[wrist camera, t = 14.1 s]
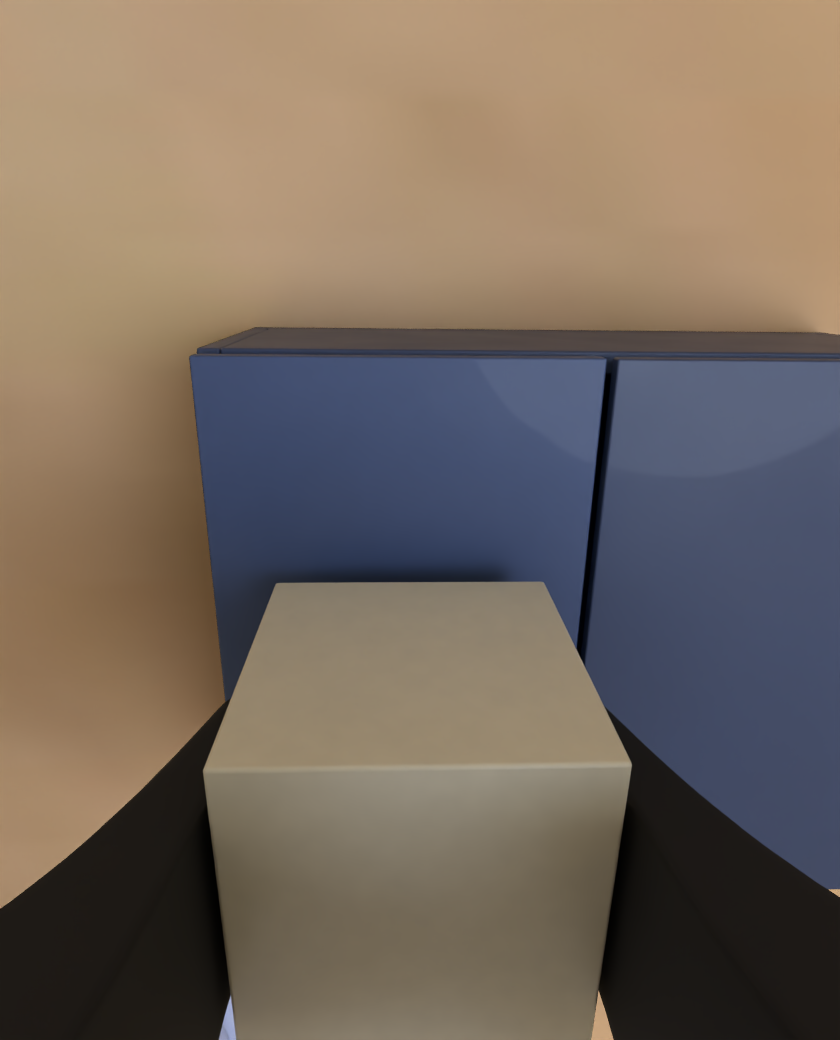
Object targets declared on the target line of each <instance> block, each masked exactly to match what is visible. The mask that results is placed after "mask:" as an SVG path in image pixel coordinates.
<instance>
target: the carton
mask: <svg viewBox="0 0 840 1040" xmlns="http://www.w3.org/2000/svg"><path fill="white" fill-rule="evenodd" d="M197 354H303V355H451V356H599V357H603V358H606V359H607V364H606V374H605V383H604V393H603V402H602V412H601V421H600V431H599V440H598V450H597V459H596V468H595V478H594V487H593V497H592V506H591V516H590V525H589V535H588V544H587V554H586V563H585V573H584V582H583V592H582V601H581V611H580V620H579V630H578V639H577V649H576V650H577V652H578V654H579V656H580V658H581V660H582V662H583V664H584V666H585V668H586V670H587V672H588V674H589V676H590V679H591V681H592V683H593V685H594V687H595V689H596V691H597V693H598V695H599V697H600V699H601V701H602V703H603V705H604V706H605V707H606V708H607V709H608V710H609V711H610V712H611V713H612V714H613V715H614V716H615V717H616V718H617V719H618V720H619V721H620V722H621V723H622V724H624V725H625V726H626V727H627V728H628V729H629V730H630V731H631V732H632V733H633V734H634V735H635V736H636V737H637V738H638V739H639V740H640V741H641V742H642V743H643V744H645V745H646V746H647V747H648V748H649V749H650V750H651V751H652V752H653V753H654V754H655V755H656V756H657V757H659V758H660V759H661V760H662V761H663V762H664V763H665V764H666V765H667V766H668V767H670V768H671V769H672V770H673V771H674V772H675V773H676V774H677V775H678V776H680V777H681V778H682V779H683V780H684V781H685V782H686V783H688V784H689V785H690V786H691V787H692V788H693V789H695V790H696V791H697V792H698V793H699V794H700V795H702V796H703V797H704V798H705V799H706V800H707V801H709V802H710V803H711V804H712V805H714V806H715V807H716V808H717V809H719V810H720V811H721V812H722V813H724V814H725V815H726V816H727V817H729V818H730V819H731V820H732V821H734V822H735V823H736V824H737V825H738V826H740V827H741V828H742V829H743V830H745V831H746V832H747V833H749V834H750V835H751V836H753V837H754V838H755V839H757V840H758V841H759V842H761V843H762V844H763V845H765V846H766V847H767V848H769V849H770V850H772V851H773V852H774V853H776V854H777V855H779V856H780V857H781V858H783V859H784V860H786V861H787V862H789V863H790V864H791V865H793V866H794V867H796V868H797V869H798V870H800V871H801V872H803V873H804V874H806V875H807V876H808V877H810V878H811V879H813V880H814V881H816V882H817V883H819V884H820V885H822V886H823V887H825V888H826V889H840V335H835V334H828V333H803V332H696V331H590V330H483V329H376V328H269V327H255V328H252V329H250V330H247V331H244V332H241V333H239V334H236V335H233V336H230V337H227V338H225V339H222V340H219V341H216V342H214V343H211V344H208V345H205V346H202V347H200V348H197Z"/></svg>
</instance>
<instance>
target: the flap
mask: <svg viewBox="0 0 840 1040" xmlns="http://www.w3.org/2000/svg"><path fill="white" fill-rule="evenodd" d="M189 360H190V369H191V379H192V388H193V398H194V407H195V417H196V426H197V436H198V445H199V455H200V464H201V474H202V483H203V493H204V502H205V512H206V522H207V531H208V541H209V550H210V560H211V569H212V579H213V588H214V598H215V607H216V617H217V626H218V636H219V645H220V655H221V664H222V674H223V683H224V693H225V702H226V701H227V700H228V699H231V697H232V695H233V692H234V690H235V687H236V685H237V682H238V679H239V677H240V674H241V672H242V669H243V667H244V664H245V662H246V659H247V656H248V654H249V651H250V649H251V646H252V644H253V641H254V638H255V636H256V633H257V631H258V628H259V626H260V623H261V620H262V618H263V615H264V613H265V610H266V608H267V605H268V602H269V600H270V597H271V595H272V592H273V590H274V587H275V585H276V583H349V582H544V584H545V586H546V588H547V590H548V592H549V594H550V596H551V598H552V600H553V602H554V604H555V606H556V608H557V611H558V613H559V615H560V617H561V619H562V621H563V623H564V625H565V627H566V629H567V631H568V633H569V635H570V637H571V639H572V641H573V643H574V646H575V648H576V649H577V639H578V630H579V620H580V611H581V601H582V592H583V582H584V573H585V563H586V554H587V544H588V535H589V525H590V516H591V506H592V497H593V487H594V478H595V468H596V459H597V450H598V440H599V431H600V421H601V412H602V402H603V393H604V383H605V374H606V364H607V359H606V358H603V357H599V356H451V355H303V354H193V355H191V356H190V357H189Z"/></svg>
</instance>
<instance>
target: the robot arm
mask: <svg viewBox="0 0 840 1040" xmlns="http://www.w3.org/2000/svg"><path fill="white" fill-rule="evenodd" d="M230 700H231V699H228V700H227V701H226V702H225V703H224V704H223V705H222V706H221V707H220V708H219V709H218V710H217V711H216V712H215V713H214V714H213V715H212V716H211V718H210V719H209V720H208V721H207V722H206V723H205V724H204V725H203V726H202V727H201V728H200V729H199V731H198V732H197V733H196V734H195V735H194V736H193V737H192V738H191V739H190V740H189V741H188V742H187V743H186V745H185V746H184V747H183V748H182V749H181V750H180V751H179V752H178V753H177V754H176V755H175V756H174V757H173V758H172V759H171V760H170V761H169V762H168V763H167V764H166V765H165V766H164V767H163V768H162V769H161V770H160V771H159V772H158V773H157V774H156V775H155V776H154V778H153V779H152V780H151V781H150V782H149V783H148V784H147V785H146V786H145V787H144V788H143V789H142V790H141V791H140V792H139V793H138V794H137V795H135V796H134V797H133V798H132V799H131V800H130V801H129V802H128V803H127V804H126V805H125V806H124V807H123V808H122V809H120V810H119V811H118V812H117V813H116V814H115V815H114V816H113V817H112V818H111V819H110V820H109V821H107V822H106V823H105V824H104V825H103V826H102V827H101V828H100V829H99V830H98V831H97V832H96V833H94V834H93V835H92V836H91V837H90V838H89V839H88V840H87V841H86V842H84V843H83V844H82V845H81V846H80V847H79V848H77V849H76V850H75V851H74V852H73V853H72V854H70V855H69V856H68V857H67V858H66V859H64V860H63V861H62V862H61V863H59V864H58V865H57V866H56V867H54V868H53V869H52V870H51V871H49V872H48V873H47V874H46V875H44V876H43V877H42V878H40V879H39V880H38V881H37V882H35V883H34V884H33V885H32V886H30V887H29V888H28V889H26V890H25V891H24V892H23V893H21V894H20V895H19V896H17V897H16V898H15V899H13V900H12V901H11V902H9V903H8V904H6V905H5V906H4V907H2V908H1V909H0V1040H236V1034H235V1026H234V1018H233V1010H232V1002H231V994H230V985H229V977H228V969H227V961H226V953H225V945H224V937H223V929H222V921H221V913H220V905H219V897H218V889H217V881H216V873H215V865H214V856H213V848H212V840H211V832H210V824H209V816H208V808H207V800H206V792H205V784H204V776H203V769H204V767H205V764H206V762H207V759H208V756H209V754H210V751H211V749H212V746H213V744H214V741H215V738H216V736H217V733H218V731H219V728H220V726H221V723H222V721H223V718H224V715H225V713H226V710H227V708H228V705H229V703H230ZM604 707H605V706H604ZM605 709H606V711H607V714H608V716H609V718H610V720H611V722H612V724H613V726H614V728H615V730H616V732H617V734H618V736H619V738H620V740H621V742H622V744H623V746H624V749H625V751H626V753H627V755H628V757H629V759H630V761H631V763H632V768H631V775H630V781H629V788H628V795H627V802H626V808H625V815H624V822H623V828H622V835H621V842H620V849H619V855H618V862H617V869H616V876H615V882H614V889H613V896H612V903H611V909H610V916H609V923H608V929H607V936H606V943H605V950H604V956H603V963H602V970H601V977H600V983H599V992H600V995H601V998H602V1002H603V1005H604V1008H605V1011H606V1014H607V1018H608V1021H609V1025H610V1028H611V1032H612V1035H613V1039H614V1040H840V897H838V896H837V895H835V894H834V893H832V892H831V891H829V890H828V889H826V888H825V887H823V886H822V885H820V884H819V883H817V882H816V881H814V880H813V879H811V878H810V877H808V876H807V875H806V874H804V873H803V872H801V871H800V870H798V869H797V868H796V867H794V866H793V865H791V864H790V863H789V862H787V861H786V860H784V859H783V858H781V857H780V856H779V855H777V854H776V853H774V852H773V851H772V850H770V849H769V848H767V847H766V846H765V845H763V844H762V843H761V842H759V841H758V840H757V839H755V838H754V837H753V836H751V835H750V834H749V833H747V832H746V831H745V830H743V829H742V828H741V827H740V826H738V825H737V824H736V823H735V822H734V821H732V820H731V819H730V818H729V817H727V816H726V815H725V814H724V813H722V812H721V811H720V810H719V809H717V808H716V807H715V806H714V805H712V804H711V803H710V802H709V801H707V800H706V799H705V798H704V797H703V796H702V795H700V794H699V793H698V792H697V791H696V790H695V789H693V788H692V787H691V786H690V785H689V784H688V783H686V782H685V781H684V780H683V779H682V778H681V777H680V776H678V775H677V774H676V773H675V772H674V771H673V770H672V769H671V768H670V767H668V766H667V765H666V764H665V763H664V762H663V761H662V760H661V759H660V758H659V757H657V756H656V755H655V754H654V753H653V752H652V751H651V750H650V749H649V748H648V747H647V746H646V745H645V744H643V743H642V742H641V741H640V740H639V739H638V738H637V737H636V736H635V735H634V734H633V733H632V732H631V731H630V730H629V729H628V728H627V727H626V726H625V725H624V724H622V723H621V722H620V721H619V720H618V719H617V718H616V717H615V716H614V715H613V714H612V713H611V712H610V711H609V710H608V709H607V708H606V707H605Z"/></svg>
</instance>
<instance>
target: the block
mask: <svg viewBox="0 0 840 1040" xmlns="http://www.w3.org/2000/svg"><path fill="white" fill-rule="evenodd" d="M631 768H632V763H631V761H630V759H629V757H628V755H627V753H626V751H625V749H624V746H623V744H622V742H621V740H620V738H619V736H618V734H617V732H616V730H615V728H614V726H613V724H612V722H611V720H610V718H609V716H608V714H607V711H606V709H605V707H604V705H603V703H602V701H601V699H600V697H599V695H598V693H597V691H596V689H595V687H594V685H593V683H592V681H591V679H590V676H589V674H588V672H587V670H586V668H585V666H584V664H583V662H582V660H581V658H580V656H579V654H578V652H577V650H576V648H575V646H574V643H573V641H572V639H571V637H570V635H569V633H568V631H567V629H566V627H565V625H564V623H563V621H562V619H561V617H560V615H559V613H558V611H557V608H556V606H555V604H554V602H553V600H552V598H551V596H550V594H549V592H548V590H547V588H546V586H545V584H544V582H349V583H276V585H275V587H274V590H273V592H272V595H271V597H270V600H269V602H268V605H267V608H266V610H265V613H264V615H263V618H262V620H261V623H260V626H259V628H258V631H257V633H256V636H255V638H254V641H253V644H252V646H251V649H250V651H249V654H248V656H247V659H246V662H245V664H244V667H243V669H242V672H241V674H240V677H239V679H238V682H237V685H236V687H235V690H234V692H233V695H232V697H231V700H230V703H229V705H228V708H227V710H226V713H225V715H224V718H223V721H222V723H221V726H220V728H219V731H218V733H217V736H216V738H215V741H214V744H213V746H212V749H211V751H210V754H209V756H208V759H207V762H206V764H205V767H204V769H203V776H204V784H205V792H206V800H207V808H208V816H209V824H210V832H211V840H212V848H213V856H214V865H215V873H216V881H217V889H218V897H219V905H220V913H221V921H222V929H223V937H224V945H225V953H226V961H227V969H228V977H229V985H230V994H231V1002H232V1010H233V1018H234V1026H235V1034H236V1040H591V1037H592V1030H593V1024H594V1017H595V1010H596V1004H597V997H598V990H599V983H600V977H601V970H602V963H603V956H604V950H605V943H606V936H607V929H608V923H609V916H610V909H611V903H612V896H613V889H614V882H615V876H616V869H617V862H618V855H619V849H620V842H621V835H622V828H623V822H624V815H625V808H626V802H627V795H628V788H629V781H630V775H631Z"/></svg>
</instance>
